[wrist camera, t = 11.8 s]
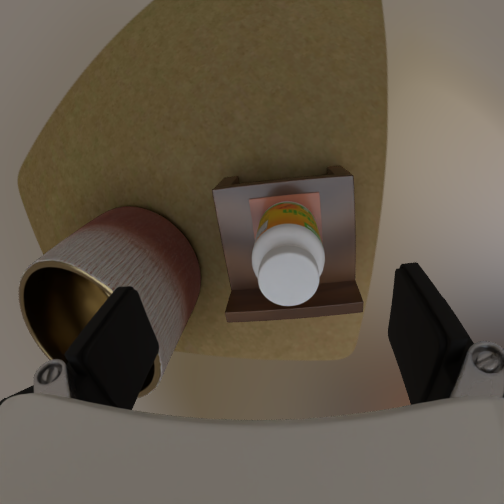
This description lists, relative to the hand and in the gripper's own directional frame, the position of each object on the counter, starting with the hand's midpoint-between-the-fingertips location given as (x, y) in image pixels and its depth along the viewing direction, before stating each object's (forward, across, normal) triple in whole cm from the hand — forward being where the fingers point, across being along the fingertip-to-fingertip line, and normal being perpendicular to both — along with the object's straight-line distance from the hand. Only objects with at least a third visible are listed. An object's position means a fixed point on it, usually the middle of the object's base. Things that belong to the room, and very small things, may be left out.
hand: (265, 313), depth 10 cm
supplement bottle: (+18, 0, +4) cm, 19 cm away
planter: (+24, +20, +9) cm, 32 cm away
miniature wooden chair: (+24, 0, +6) cm, 25 cm away
